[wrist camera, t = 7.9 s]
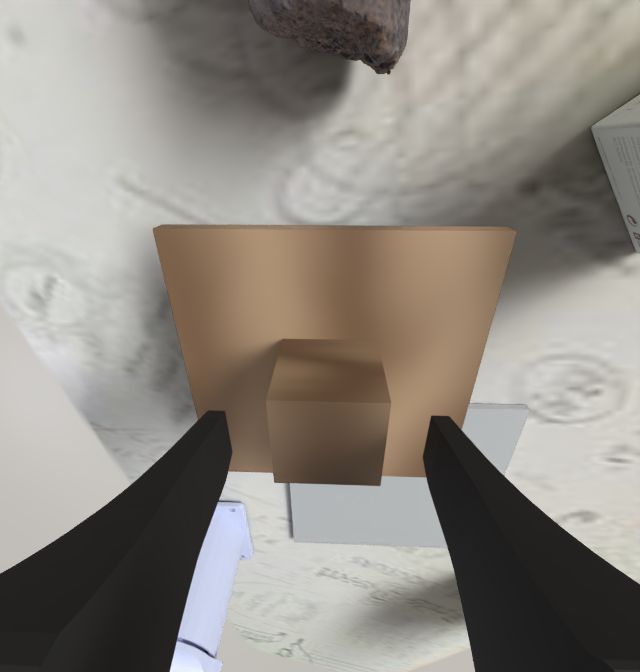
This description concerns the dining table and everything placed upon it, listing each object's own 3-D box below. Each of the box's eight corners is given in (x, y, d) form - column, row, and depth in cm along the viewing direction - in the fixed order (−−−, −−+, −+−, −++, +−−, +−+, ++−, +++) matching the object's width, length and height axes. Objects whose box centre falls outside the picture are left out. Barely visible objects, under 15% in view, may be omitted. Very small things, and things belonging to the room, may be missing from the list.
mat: (294, 536, 30) (294, 542, 30) (284, 399, 23) (284, 404, 22) (473, 543, 30) (475, 549, 29) (526, 404, 22) (530, 409, 22)
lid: (214, 458, 19) (181, 545, 15) (162, 224, 13) (79, 261, 9) (444, 466, 19) (475, 557, 15) (506, 226, 12) (594, 266, 8)
